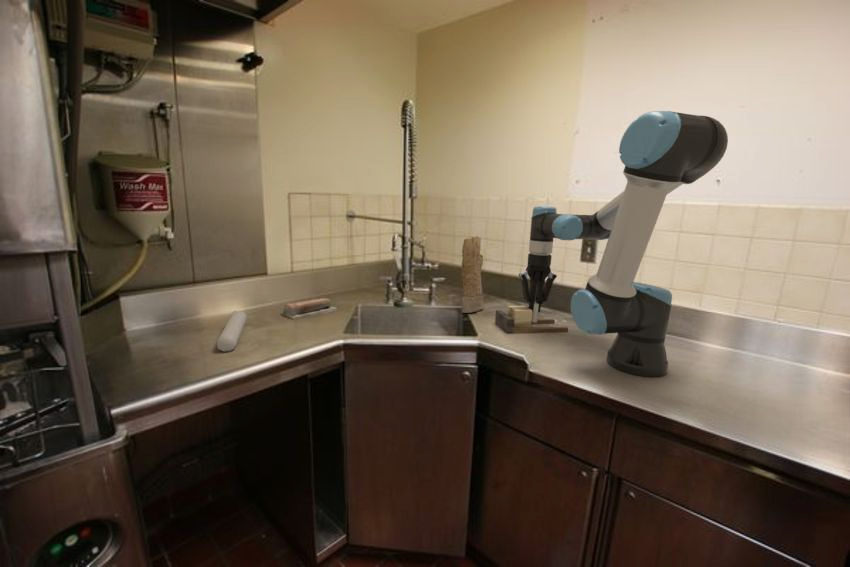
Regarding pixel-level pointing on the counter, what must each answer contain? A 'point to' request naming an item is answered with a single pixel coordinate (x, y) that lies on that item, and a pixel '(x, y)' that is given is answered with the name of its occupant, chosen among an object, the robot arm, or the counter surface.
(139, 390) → the counter surface
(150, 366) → the counter surface
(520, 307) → the block
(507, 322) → the guide channel
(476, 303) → the glove
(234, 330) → the tube
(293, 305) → the packaged product
